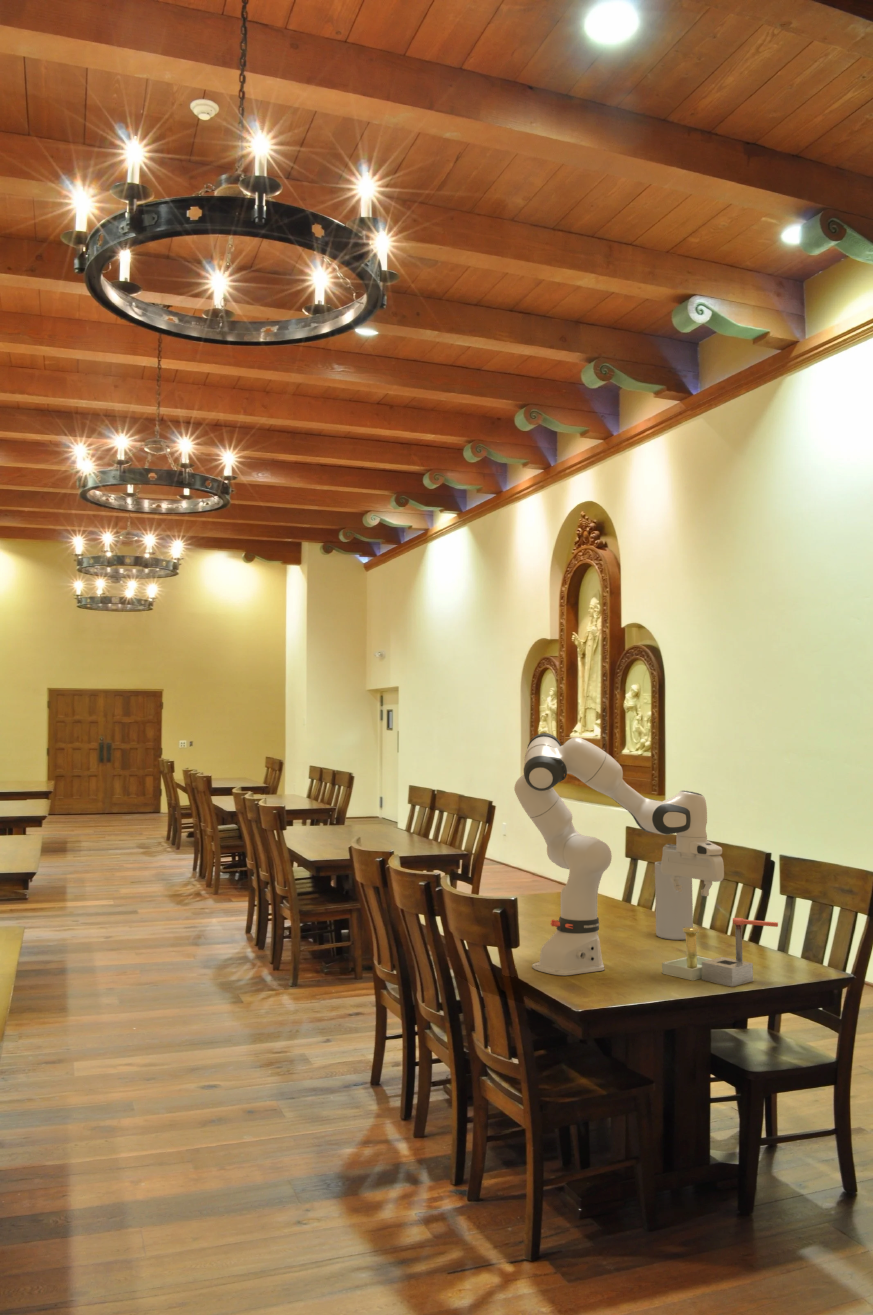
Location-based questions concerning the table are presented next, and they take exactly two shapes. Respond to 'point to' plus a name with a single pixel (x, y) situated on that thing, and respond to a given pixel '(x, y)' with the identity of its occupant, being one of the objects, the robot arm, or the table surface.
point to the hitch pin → (691, 946)
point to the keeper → (753, 922)
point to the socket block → (729, 967)
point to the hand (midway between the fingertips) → (691, 893)
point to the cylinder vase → (672, 906)
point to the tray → (683, 968)
